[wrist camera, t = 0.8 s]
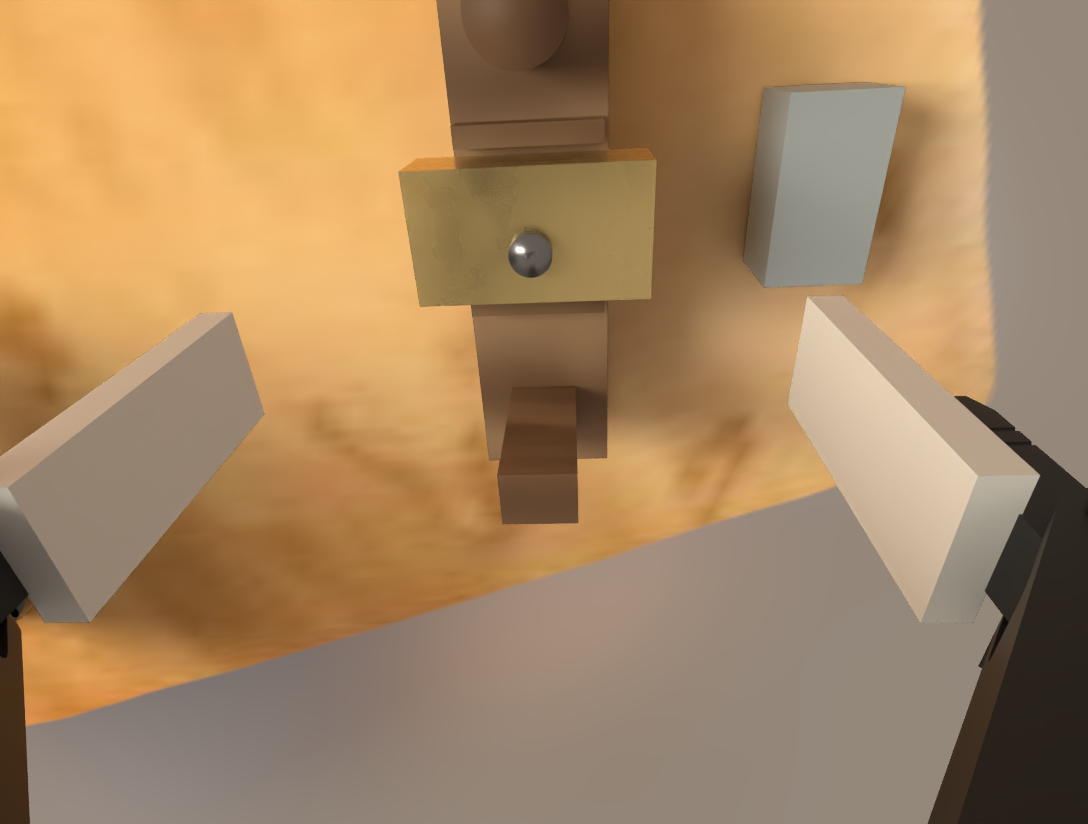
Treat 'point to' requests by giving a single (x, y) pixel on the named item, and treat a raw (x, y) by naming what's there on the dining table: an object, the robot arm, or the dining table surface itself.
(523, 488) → the plane body
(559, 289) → the lever cap
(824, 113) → the block
